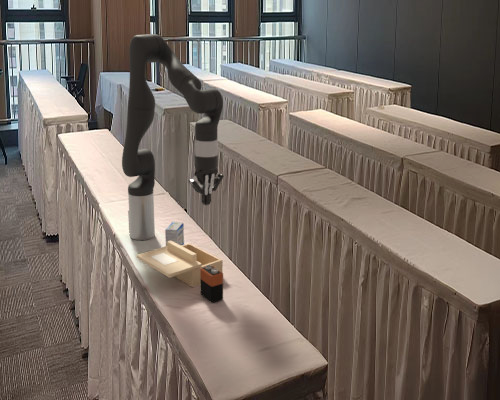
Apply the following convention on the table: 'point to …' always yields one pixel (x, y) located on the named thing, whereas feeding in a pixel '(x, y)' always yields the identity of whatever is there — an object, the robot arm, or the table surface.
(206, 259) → the box
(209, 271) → the battery
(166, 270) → the lid
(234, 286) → the table surface
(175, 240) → the medicine box
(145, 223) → the robot arm
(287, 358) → the table surface
